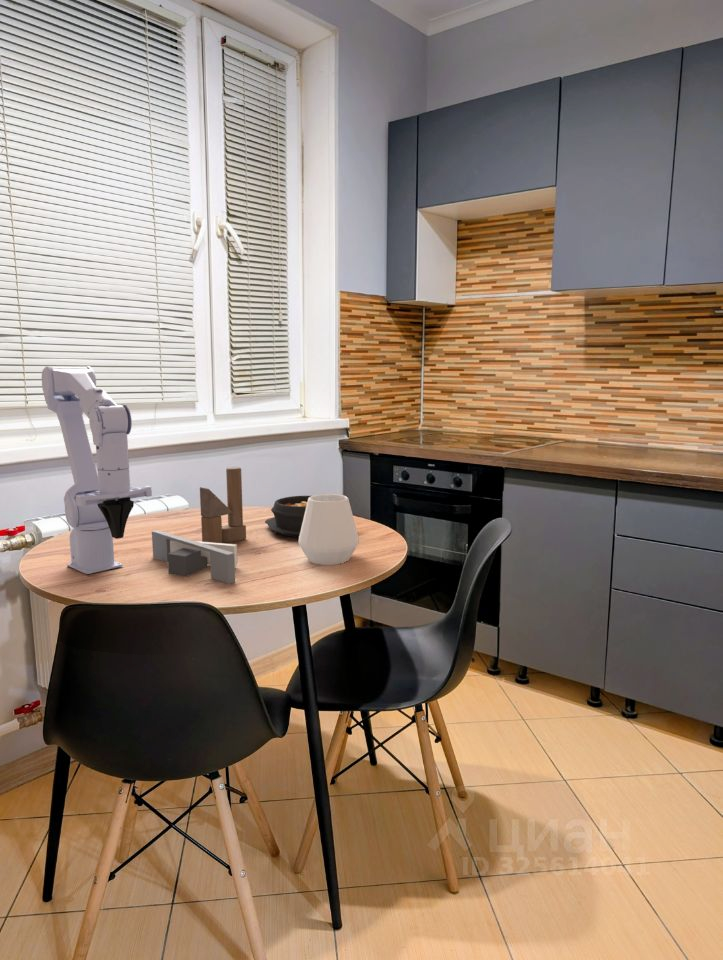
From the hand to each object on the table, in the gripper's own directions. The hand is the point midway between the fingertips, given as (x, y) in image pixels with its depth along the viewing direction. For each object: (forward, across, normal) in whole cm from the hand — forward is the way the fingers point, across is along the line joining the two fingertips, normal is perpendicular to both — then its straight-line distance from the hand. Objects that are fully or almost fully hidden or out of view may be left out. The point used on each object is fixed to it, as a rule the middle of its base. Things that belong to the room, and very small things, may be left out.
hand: (117, 537), depth 131 cm
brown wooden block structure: (+10, +33, +11) cm, 36 cm away
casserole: (+10, +53, +4) cm, 54 cm away
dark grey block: (+10, +14, -2) cm, 17 cm away
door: (+9, +18, -2) cm, 21 cm away
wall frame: (+9, +15, -2) cm, 18 cm away
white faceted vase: (+10, +40, -18) cm, 45 cm away
